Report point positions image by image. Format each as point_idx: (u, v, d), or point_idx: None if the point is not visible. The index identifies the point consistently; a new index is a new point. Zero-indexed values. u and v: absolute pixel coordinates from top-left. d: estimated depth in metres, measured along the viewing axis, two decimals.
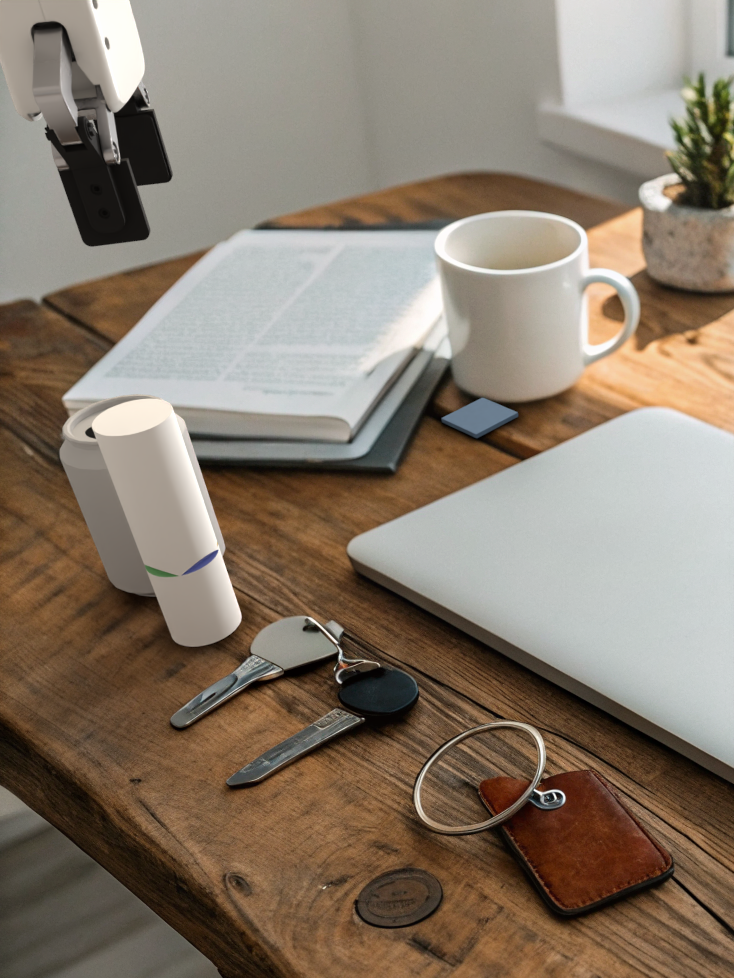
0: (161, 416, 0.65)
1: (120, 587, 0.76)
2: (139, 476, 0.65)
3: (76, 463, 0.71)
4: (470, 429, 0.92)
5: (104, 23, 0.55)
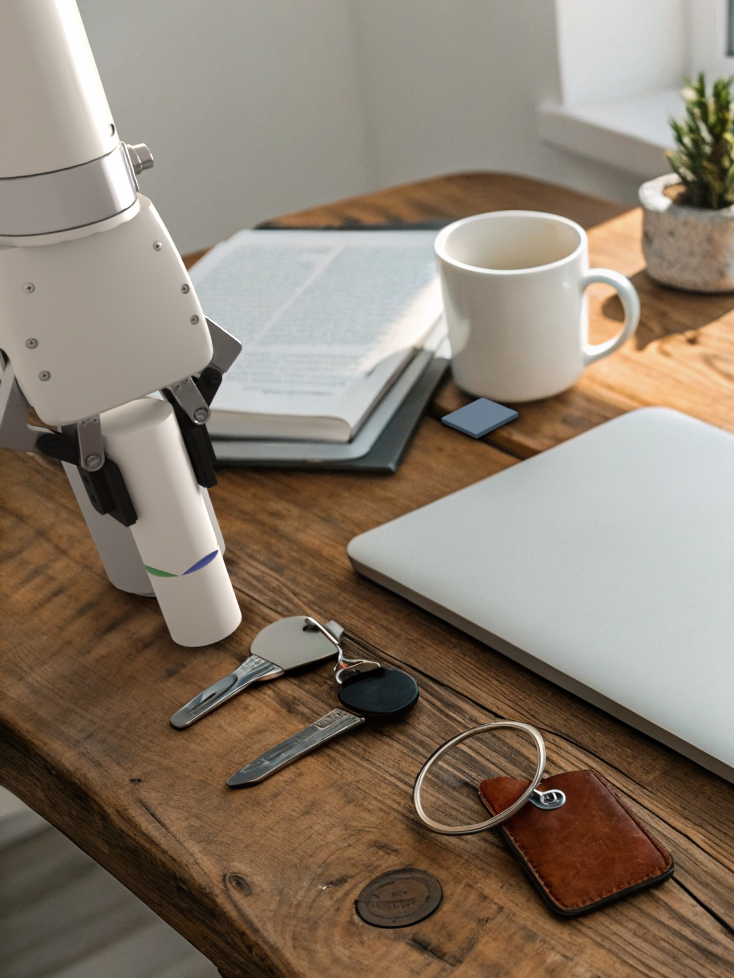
0: (161, 416, 0.65)
1: (120, 587, 0.76)
2: (139, 476, 0.65)
3: None
4: (470, 429, 0.92)
5: (47, 358, 0.59)
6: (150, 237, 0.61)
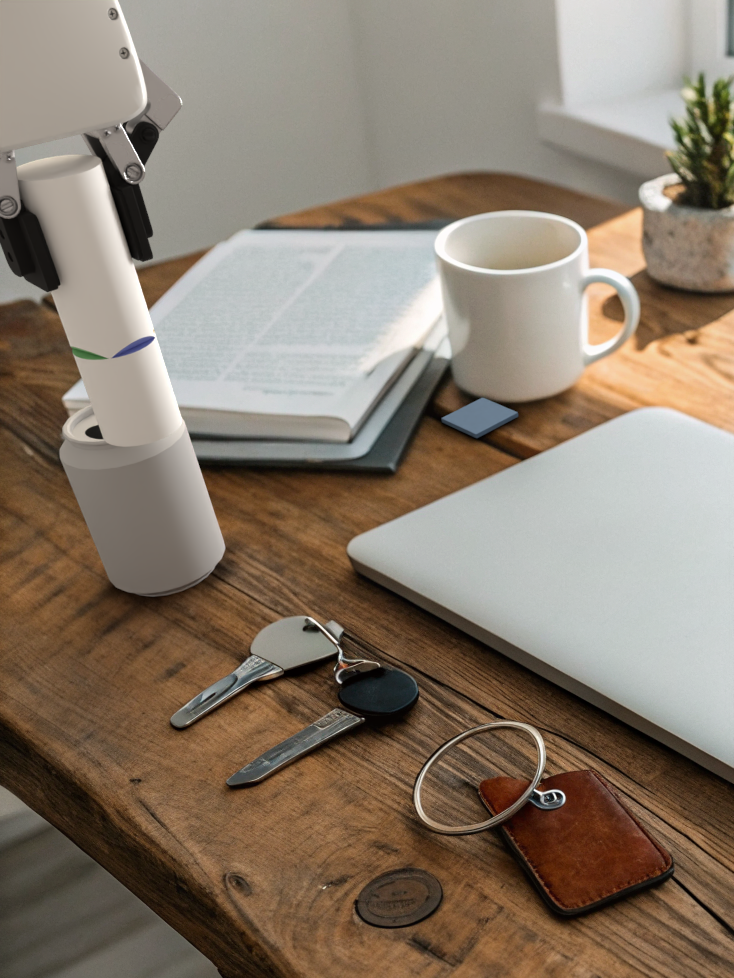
0: (87, 166, 0.59)
1: (120, 587, 0.76)
2: (61, 232, 0.58)
3: (76, 463, 0.71)
4: (470, 429, 0.92)
5: None
6: None
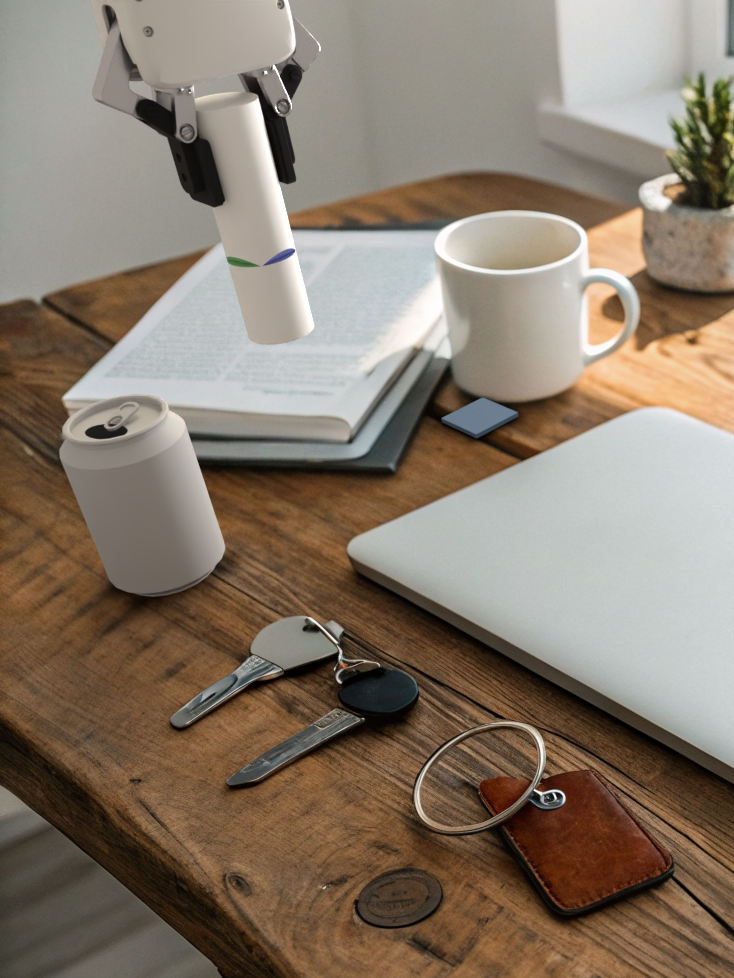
0: (248, 100, 0.70)
1: (120, 587, 0.76)
2: (227, 155, 0.70)
3: (76, 463, 0.71)
4: (470, 429, 0.92)
5: (151, 14, 0.63)
6: None
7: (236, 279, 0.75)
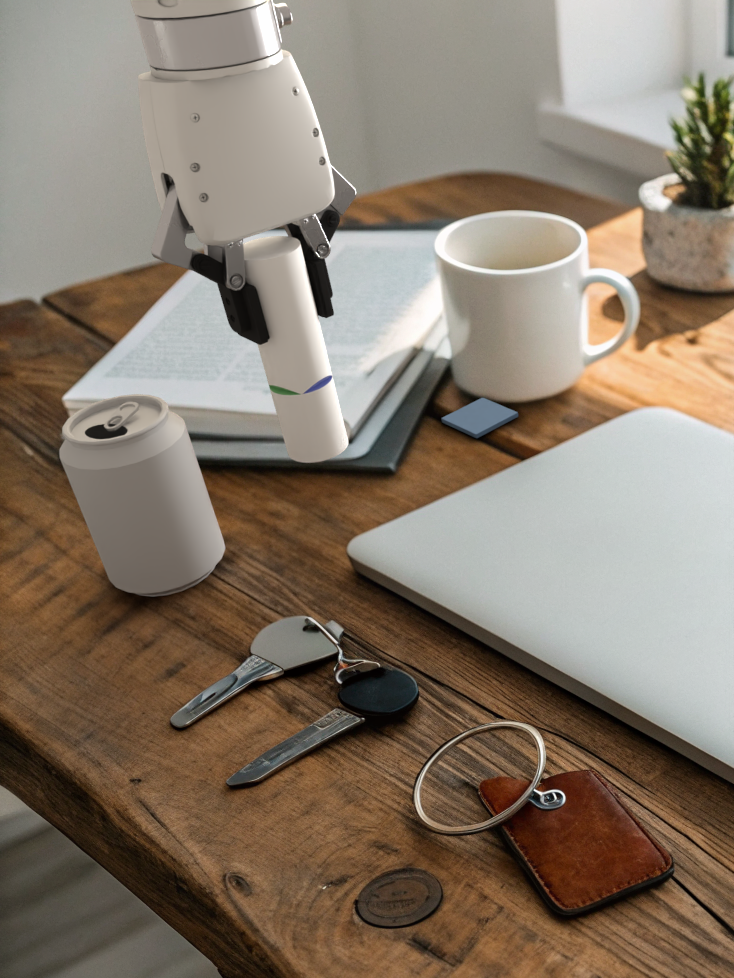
0: (291, 247, 0.76)
1: (120, 587, 0.76)
2: (272, 298, 0.76)
3: (76, 463, 0.71)
4: (470, 429, 0.92)
5: (206, 182, 0.69)
6: (290, 83, 0.71)
7: (278, 405, 0.80)
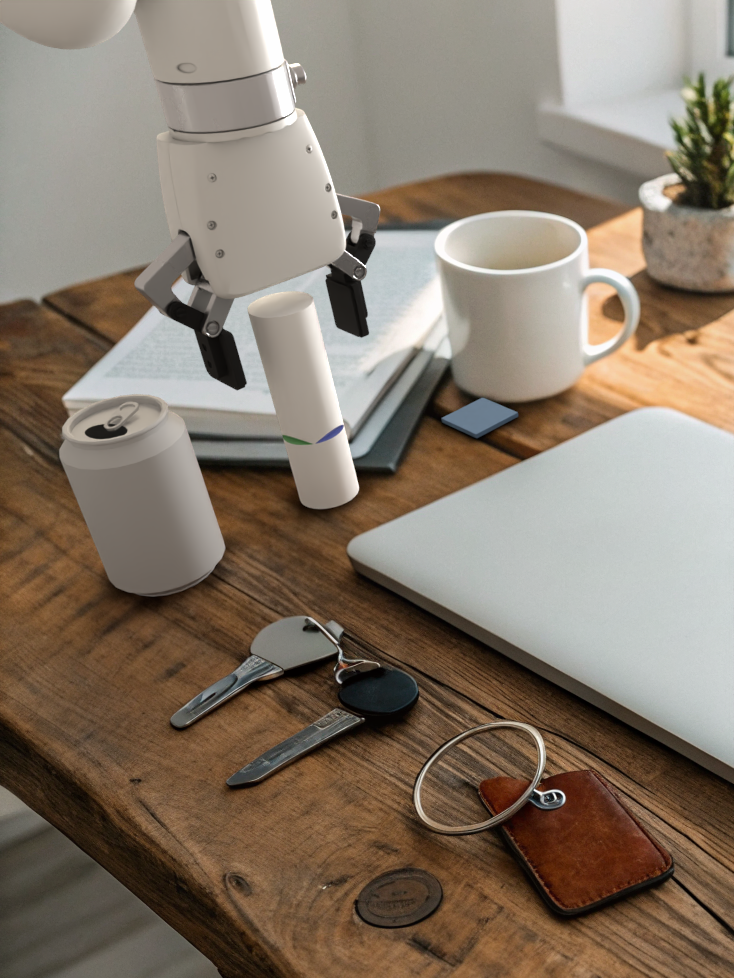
0: (305, 303, 0.78)
1: (120, 587, 0.76)
2: (286, 353, 0.78)
3: (76, 463, 0.71)
4: (470, 429, 0.92)
5: (222, 239, 0.71)
6: (304, 141, 0.73)
7: (291, 454, 0.83)
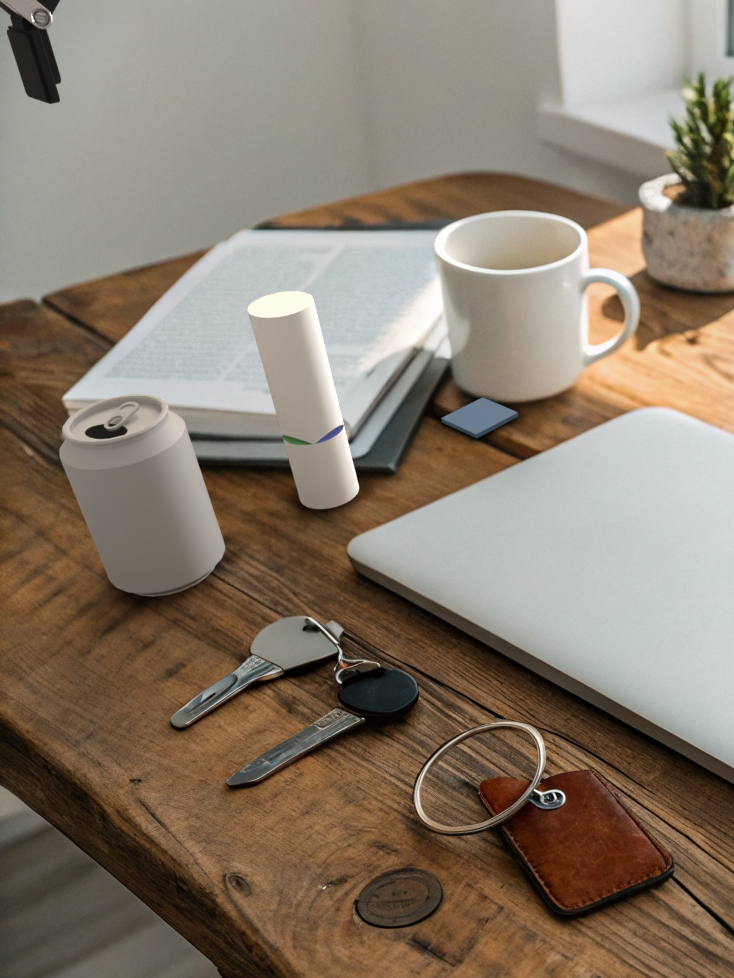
0: (305, 303, 0.78)
1: (120, 587, 0.76)
2: (286, 353, 0.78)
3: (76, 463, 0.71)
4: (470, 429, 0.92)
5: None
6: None
7: (291, 454, 0.83)
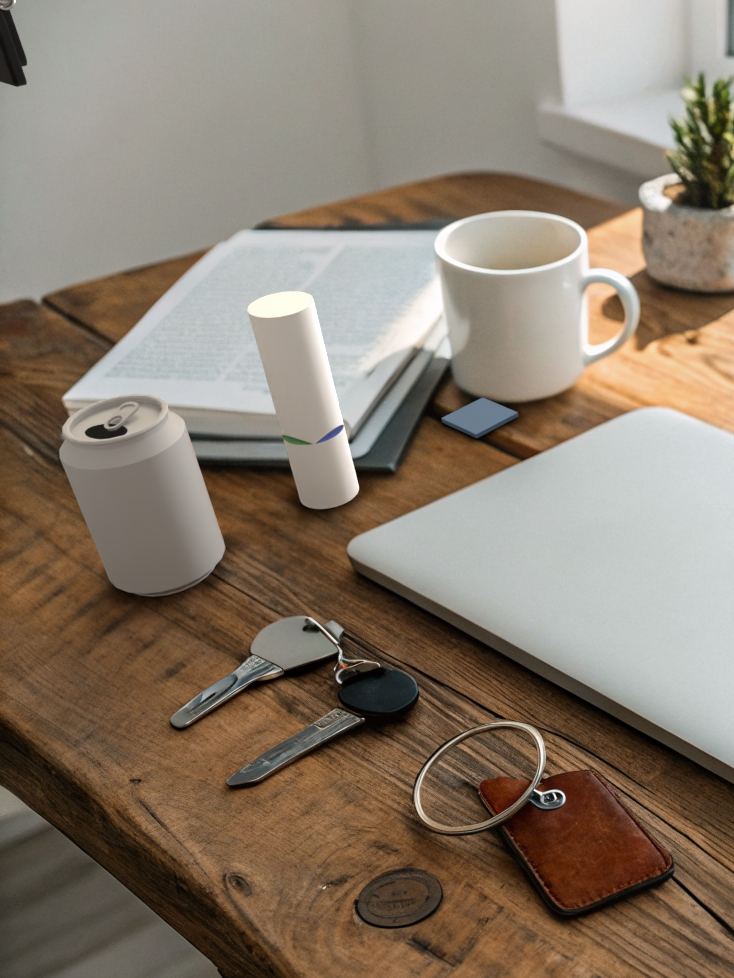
0: (305, 303, 0.78)
1: (120, 587, 0.76)
2: (286, 353, 0.78)
3: (76, 463, 0.71)
4: (470, 429, 0.92)
5: None
6: None
7: (291, 454, 0.83)
